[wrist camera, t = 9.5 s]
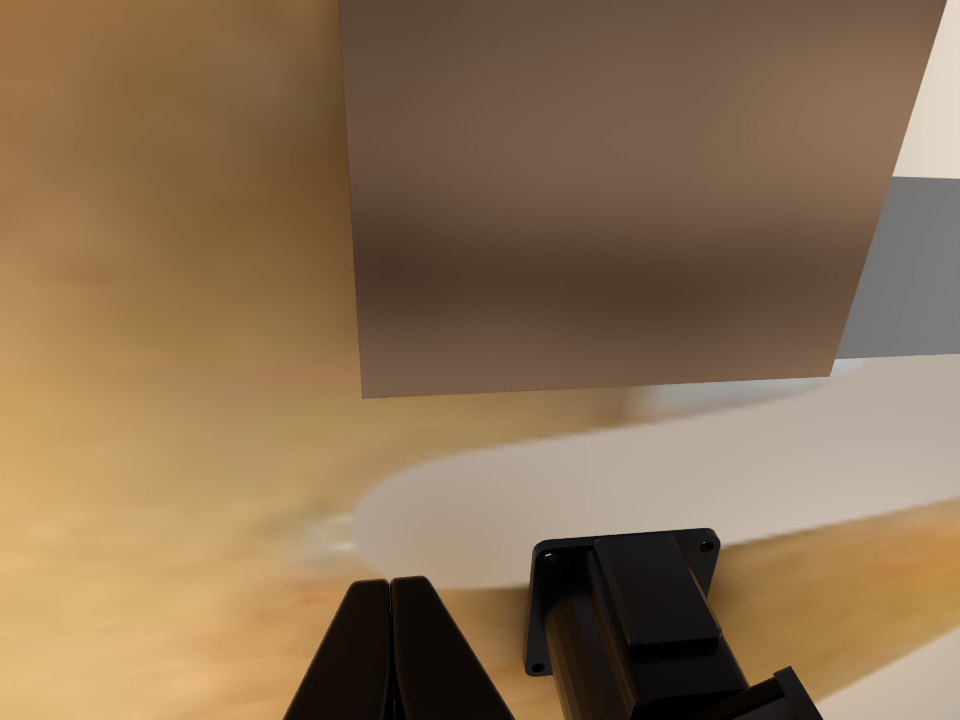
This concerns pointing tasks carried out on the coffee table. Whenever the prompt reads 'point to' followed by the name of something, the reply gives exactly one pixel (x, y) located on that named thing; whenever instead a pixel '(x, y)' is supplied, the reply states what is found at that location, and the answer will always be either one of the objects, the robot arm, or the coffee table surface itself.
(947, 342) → the charcoal mat
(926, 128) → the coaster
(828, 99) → the walnut board
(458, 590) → the coffee table surface
